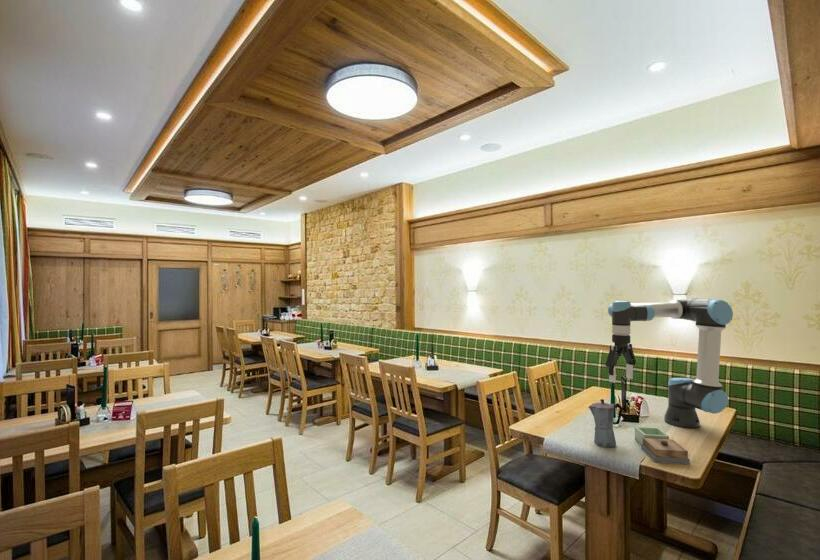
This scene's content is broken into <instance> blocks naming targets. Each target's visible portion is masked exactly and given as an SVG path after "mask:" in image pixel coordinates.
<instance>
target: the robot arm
mask: <svg viewBox="0 0 820 560" xmlns="http://www.w3.org/2000/svg"><path fill="white" fill-rule="evenodd" d="M607 309H608V310H607V313H608V315H609V317H611V333H612V335H611V341H612V343H614V345H610V346H609V352H608V355H607V357H606V361H605V367H606V368H608V382H610V383H614V384H615V383H616V382H617V381H616V380H617V376H616V375H617V373H616V369H617V368H615V367H616V365H617V363H618V360H619V358H620V357H621V356H623V357H624V359H625V362H626V364H625V367H626V369H625V370H626V371H625V372H626V373H625V375H626V377H625V378H626V379H629V380H634V377H633V376H634V367H633V366H635V365H636V363H637V360H636V356H635V354H634V350H633V344H632V343H631V322H649V321H652V320H654V318H670V319H674V320H684V321H685V320H686V321H692V322H695V326H696V327H697V329H698V343H697V344H698V345H697V359H696V360H697V362H696V378H691V377H690V378H689V377H670V378H669V379H668V384H667V395H668V396H667V397H668V399H667V402H668V403H667V404H668V405H667V409H666V411H665V414H664V417H663V418H664V419H663V421H664V422H665V423H667V424H670V425H672V426H676V427H680V428H687V429H688V428H689V429H696V428H699V427H700V426H701V425H700V424H701V422H700V418H699V416H698V412H697V410H700V411H703V412H704V413H709V414H714V415H715V414H720V413H721V412H722V413H723V411H724V410H725V409H726V408H727V406H728V404H729V396H728V394H727V393H726V392H725V391H724V390H723V384H722V383H721V382H720V381H719V377H720V361H721V360H720V358H721V343H722V331H724V330H725V329H727V327H726V326H727V325H728V324H729V323H731V321H732V320H733V318H734V313H733V312H734V311H733V308H732V307H731V305H730V304H729V302H727V301H725V300H724V299H717V298H697V297H695V298H694V297H691V298H685V299H684V298H683V299H672V300H670V301H668V302H667V301H666V302H665V301H662V302H630V301H629V300H614V301H612V303H611V304H610V305H609V306H608V307H607Z"/></svg>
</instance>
